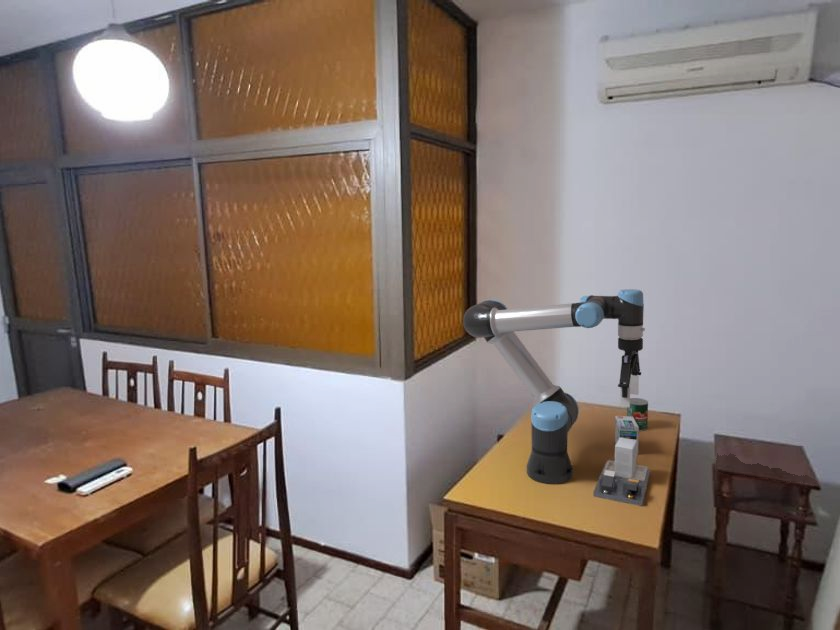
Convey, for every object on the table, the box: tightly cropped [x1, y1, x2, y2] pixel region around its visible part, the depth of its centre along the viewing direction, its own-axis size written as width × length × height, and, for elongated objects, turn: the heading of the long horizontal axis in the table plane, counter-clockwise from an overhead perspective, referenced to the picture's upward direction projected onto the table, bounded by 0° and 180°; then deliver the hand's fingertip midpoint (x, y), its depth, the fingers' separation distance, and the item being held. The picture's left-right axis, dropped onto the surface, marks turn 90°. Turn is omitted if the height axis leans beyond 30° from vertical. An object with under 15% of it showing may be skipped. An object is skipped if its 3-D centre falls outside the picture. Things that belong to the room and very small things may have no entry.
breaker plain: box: [601, 470, 615, 491], centre depth 166 cm, size 7×3×2 cm, turn 152°
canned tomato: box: [626, 397, 649, 432], centre depth 214 cm, size 8×8×11 cm
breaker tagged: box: [626, 479, 639, 491], centre depth 162 cm, size 7×3×2 cm, turn 151°
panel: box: [592, 459, 651, 507], centre depth 169 cm, size 22×14×4 cm, turn 152°
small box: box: [614, 437, 638, 478], centre depth 173 cm, size 8×6×10 cm
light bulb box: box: [614, 415, 640, 456], centre depth 195 cm, size 11×7×11 cm, turn 168°
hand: (629, 400), depth 176 cm, fingers open, 13 cm apart
